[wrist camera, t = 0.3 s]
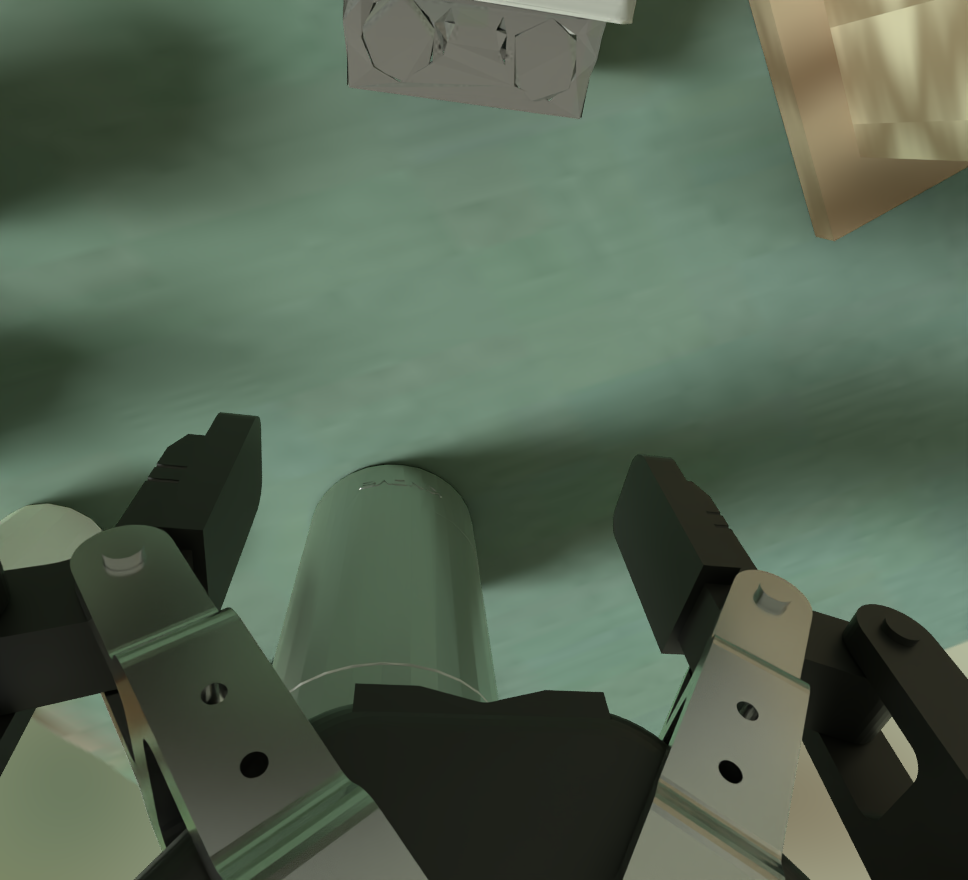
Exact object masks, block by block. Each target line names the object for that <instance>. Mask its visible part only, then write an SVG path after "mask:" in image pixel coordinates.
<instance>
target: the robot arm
mask: <svg viewBox="0 0 968 880" xmlns="http://www.w3.org/2000/svg"><path fill="white" fill-rule="evenodd" d="M261 488H262V455H261V422H260V418H259V417H258V416H251V415H241V414H232V413H222V412H220V413H219V414H218V415H217V416H216V418H215V420H214V421H213V423H212V425H211V427H210V428H209V430H208V432H207V434H206V435H205V436H204V435H194V434H188V435H186V436H184V437H183V438H181V439H180V440H178V441H177V442H175V443H174V444H172V445H170V446H169V447H167V449H166V451H165V452H164V454H163V455H162V457H161V458H160V460H159V461H158V463H157V467H154V469H153V470H152V472H151V473H150V475H149V476H148V480H147V481H145V482H144V484H143V485H142V487H141V488H140V490H139V492H138V493H137V495H136V496H135V498H134V499H133V501H132V502H131V504H130V505H129V507H128V508H127V510H126V511H125V513H124V514H123V516H122V517H121V519H120V520H119V522H118V523H117V525H116V526H115V528H111V529H108V530H105V531H102V532H100V533H97V534H95V535H93V536H92V537H90V538H88V539H87V540H85V541H84V542H83V543H82V544H80V546H79V547H78V548H77V549H76V550H75V552H74V553H73V555H72V557H71V559H68V560H64V561H61V562H57V563H51V564H46V565H39V566H32V567H25V568H18V569H11V570H3V566H2V564H1V561H0V776H1V774H2V772H3V771H4V769H5V767H6V765H7V763H8V761H9V759H10V757H11V755H12V753H13V751H14V749H15V747H16V745H17V744H18V742H19V740H20V738H21V736H22V734H23V732H24V730H25V728H26V726H27V724H28V722H29V721H30V719H31V717H32V715H33V713H34V711H35V709H36V708H37V707H41V706H46V705H50V704H54V703H59V702H63V701H67V700H72V699H76V698H81V697H85V696H89V695H94V694H98V693H101V696H102V698H103V700H104V703H105V705H106V708H107V710H108V712H109V715H110V717H111V720H112V722H113V724H114V727H115V729H116V732H117V734H118V736H119V739H120V741H121V744H122V746H123V748H124V751H125V753H126V756H127V758H128V760H129V763H130V765H131V768H132V770H133V772H134V775H135V777H136V780H137V783H138V785H139V788H140V791H141V794H142V798H143V801H144V804H145V807H146V810H147V814H148V816H149V819H150V822H151V825H152V828H153V830H154V833H155V836H156V838H157V840H158V843H159V845H160V848H161V850H162V853H161V854H160V855H159V856H158V857H157V858H155V859H154V860H153V862H151V863H150V864H149V865H148V866H147V867H146V868H145V869H144V870H143V871H142V872H141V873H140V874H139V875H138V876H137V877H136V878H135V879H134V880H810V879H809V878H808V877H807V876H806V875H805V874H804V873H803V872H802V871H801V870H800V869H798V868H797V867H796V866H795V865H794V864H793V863H792V862H791V861H790V860H789V859H788V858H787V857H786V856H785V855H784V854H783V853H782V850H783V845H784V839H785V833H786V827H787V822H788V816H789V810H790V804H791V798H792V792H793V787H794V781H795V776H796V770H797V764H798V758H799V753H800V747H801V741H803V743H804V745H805V747H806V749H807V751H808V753H809V755H810V757H811V759H812V761H813V763H814V765H815V767H816V769H817V771H818V773H819V775H820V777H821V779H822V781H823V783H824V785H825V787H826V789H827V791H828V793H829V795H830V797H831V799H832V801H833V803H834V805H835V807H836V809H837V812H838V813H839V816H840V818H841V820H842V822H843V824H844V825H845V828H846V830H847V831H848V833H849V836H850V838H851V840H852V842H853V843H854V846H855V848H856V850H857V852H858V854H859V856H860V858H861V860H862V862H863V864H864V866H865V868H866V870H867V872H868V874H869V876H870V878H871V880H968V679H967V678H966V677H965V675H964V674H963V673H962V671H961V670H960V669H959V668H958V667H957V665H956V664H955V663H954V662H953V661H952V659H951V658H950V657H949V656H948V654H947V653H946V652H945V651H944V649H943V648H942V647H941V646H940V645H939V643H938V642H937V641H936V640H935V638H934V637H933V636H932V635H931V634H930V633H929V632H928V631H927V630H926V629H925V628H924V627H923V626H921V625H920V624H919V623H917V622H916V621H915V620H913V619H912V618H910V617H908V616H907V615H905V614H903V613H901V612H899V611H897V610H894V609H892V608H889V607H886V606H882V605H876V604H868V605H864V606H861V607H860V608H859V609H858V610H857V612H856V613H855V615H854V616H853V618H852V619H851V621H850V622H848V621H845V620H842V619H839V618H835V617H832V616H829V615H825V614H822V613H819V612H816V611H812V607H811V605H810V603H809V601H808V600H807V598H806V597H805V596H804V595H803V594H802V593H801V592H800V591H799V590H798V589H797V588H796V587H795V586H793V585H792V584H791V583H789V582H788V581H786V580H784V579H782V578H781V577H779V576H776V575H774V574H771V573H768V572H765V571H760V570H757V568H756V567H755V565H754V564H753V562H752V560H751V559H750V557H749V556H748V554H747V553H746V551H745V550H744V548H743V547H742V545H741V544H740V542H739V541H738V539H737V537H736V536H735V534H734V533H733V531H732V530H731V529H729V528H728V526H729V525H728V524H727V522H726V521H725V519H724V518H723V516H721V515H720V511H719V510H718V508H717V507H716V505H715V504H714V502H713V501H712V499H711V498H710V496H709V495H707V494H706V493H705V492H704V491H703V490H701V489H700V488H699V487H698V486H697V485H695V484H694V483H693V482H691V481H687V480H686V479H685V477H684V476H683V474H682V472H681V471H680V469H679V467H678V466H677V464H676V463H675V461H674V460H673V459H672V458H669V457H660V456H650V455H637V456H635V458H634V459H633V461H632V463H631V465H630V468H629V471H628V474H627V477H626V479H625V482H624V485H623V488H622V491H621V494H620V496H619V499H618V502H617V505H616V508H615V511H614V517H613V531H614V536H615V539H616V541H617V544H618V546H619V549H620V551H621V554H622V556H623V559H624V561H625V564H626V566H627V569H628V571H629V574H630V576H631V579H632V581H633V584H634V586H635V589H636V591H637V594H638V596H639V599H640V601H641V604H642V606H643V609H644V611H645V614H646V616H647V619H648V621H649V624H650V626H651V629H652V631H653V634H654V636H655V639H656V641H657V644H658V646H659V649H660V651H661V653H662V654H683V655H685V657H686V659H687V662H688V664H689V667H688V669H687V671H686V673H685V675H684V678H683V680H682V682H681V685H680V687H679V690H678V692H677V694H676V697H675V699H674V701H673V704H672V706H671V709H670V711H669V713H668V716H667V718H666V720H665V723H664V725H663V728H662V730H661V732H660V735H659V737H657V736H655V735H654V734H652V733H651V732H649V731H648V730H646V729H644V728H643V727H641V726H639V725H637V724H635V723H633V722H631V721H629V720H627V719H624V718H622V717H619V716H616V715H614V714H610V713H609V710H608V707H607V703H606V700H605V696H604V693H603V692H581V691H553V690H544V691H540V692H535V693H530V694H526V695H521V696H516V697H512V698H507V699H502V700H498V694H497V687H496V680H495V674H494V667H493V660H492V654H491V647H490V640H489V633H488V627H487V620H486V613H485V607H484V600H483V593H482V587H481V580H480V573H479V565H478V558H477V552H476V545H475V538H474V532H473V525H472V521H471V517H470V514H469V510H468V508H467V506H466V504H465V503H464V501H463V499H462V497H461V496H460V495H459V494H458V493H457V492H456V491H455V489H454V488H453V487H452V486H451V485H450V484H448V483H447V482H445V481H444V480H442V479H441V478H439V477H438V476H437V475H434V474H432V473H429V472H427V471H425V470H422V469H419V468H415V467H410V466H405V465H380V466H374V467H368V468H365V469H362V470H360V471H357V472H354V473H352V474H350V475H348V476H346V477H345V478H343V479H341V480H340V481H338V482H337V483H335V484H334V485H333V486H332V487H331V488H330V489H329V490H328V491H327V492H326V493H325V494H324V496H323V497H322V499H321V500H320V502H319V503H318V505H317V507H316V509H315V512H314V515H313V518H312V521H311V525H310V528H309V532H308V536H307V540H306V543H305V547H304V551H303V554H302V557H301V561H300V564H299V568H298V572H297V575H296V579H295V583H294V587H293V590H292V594H291V598H290V602H289V605H288V609H287V613H286V616H285V620H284V624H283V628H282V631H281V635H280V639H279V643H278V646H277V650H276V654H275V657H274V661H273V665H271V663H270V662H269V660H268V659H267V657H266V656H265V654H264V653H263V651H262V650H261V648H260V647H259V645H258V644H257V642H256V641H255V639H254V638H253V636H252V635H251V633H250V632H249V630H248V629H247V627H246V626H245V624H244V623H243V621H242V620H241V618H240V617H239V616H238V614H237V613H236V612H235V611H234V610H233V609H232V608H225V609H223V610H221V607H222V605H223V602H224V599H225V596H226V594H227V591H228V588H229V586H230V583H231V580H232V577H233V575H234V572H235V569H236V567H237V564H238V561H239V558H240V556H241V553H242V550H243V548H244V545H245V542H246V539H247V537H248V534H249V531H250V528H251V526H252V523H253V520H254V518H255V515H256V512H257V509H258V506H259V502H260V496H261ZM891 717H893V719H894V720H895V722H896V723H897V725H898V726H899V728H900V729H901V731H902V732H903V734H904V735H905V737H906V739H907V740H908V742H909V743H910V745H911V746H912V748H913V750H914V752H915V754H916V757H917V761H918V775H917V778H916V780H915V782H914V783H913V781H912V779H911V778H910V776H909V775H908V773H907V771H906V770H905V768H904V767H903V765H902V763H901V762H900V760H899V758H898V757H897V755H896V754H895V752H894V750H893V749H892V747H891V746H890V744H889V743H888V741H887V739H886V738H885V736H884V735H883V733H882V731H881V729H882V728H883V727H884V725H885V724H886V723H887V722H888V721H889V719H890V718H891Z"/></svg>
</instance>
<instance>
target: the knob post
mask: <svg viewBox="0 0 968 880" xmlns="http://www.w3.org/2000/svg"><path fill="white" fill-rule="evenodd" d="M749 3H750V7H751V10H752V14H753V17H754V21H755V24H756V28H757V31H758V35H759V38H760V42H761V45H762V49H763V52H764V56H765V60H766V63H767V67H768V70H769V74H770V77H771V81H772V84H773V88H774V91H775V95H776V98H777V102H778V105H779V109H780V112H781V116H782V119H783V123H784V126H785V130H786V133H787V137H788V140H789V144H790V148H791V151H792V155H793V158H794V162H795V165H796V169H797V172H798V176H799V179H800V183H801V186H802V190H803V193H804V197H805V200H806V204H807V207H808V211H809V214H810V218H811V221H812V225H813V228H814V232H815V235H816V237H820V238H824V239H828V240H832V241H835V240H837V239H839V238H841V237H843V236H844V235H846V234H848V233H850V232H852V231H853V230H855V229H857V228H859V227H861V226H862V225H864V224H866V223H868V222H870V221H871V220H873V219H875V218H877V217H879V216H880V215H882V214H884V213H886V212H888V211H889V210H891V209H893V208H895V207H897V206H898V205H900V204H902V203H904V202H906V201H907V200H909V199H911V198H913V197H915V196H916V195H918V194H920V193H922V192H924V191H925V190H927V189H929V188H931V187H933V186H934V185H936V184H938V183H940V182H942V181H943V180H945V179H947V178H949V177H951V176H952V175H954V174H956V173H958V172H960V171H961V170H963V169H965V168H967V167H968V0H749Z"/></svg>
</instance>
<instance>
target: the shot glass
mask: <svg viewBox="0 0 968 880" xmlns="http://www.w3.org/2000/svg"><path fill="white" fill-rule="evenodd" d="M100 532H102V530H101V529H100V528H99V527H98V526H97V524H96V523H95V522H94V521H93V520H92V519H90V518H88V517H87V516H85V515H83V514H81V513H79V512H77V511H75V510H73V509H71V508H68V507H63V506H58V505H53V504H48V503H47V504H38V505H28V506H25V507H23V508H21V509H19V510H17V511H15V512H13V513H11V514H9V515H8V516H6V517H5V518H4V519H2V520H1V521H0V561H1V564H2V566H3V570H11V569H18V568H25V567H32V566H39V565H46V564H51V563H57V562H61V561H64V560H68V559H71V557H72V555H73V553H74V552H75V550H76V549H77V548H78V547H79V546H80V544H82V543H83V542H84V541H85V540H87V539H88V538H90V537H92V536H93V535H95V534H97V533H100Z"/></svg>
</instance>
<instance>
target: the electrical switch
mask: <svg viewBox="0 0 968 880" xmlns="http://www.w3.org/2000/svg"><path fill="white" fill-rule="evenodd" d="M635 5H636V0H344V6H343V26H344V34H345V43H346V51H347V85H348V83H349V87H350V88H357V89H365V90H372V91H379V92H387V93H394V94H401V95H409V96H416V97H423V98H430V99H438V100H445V101H452V102H460V103H467V104H474V105H481V106H489V107H496V108H503V109H511V110H518V111H525V112H532V113H540V114H547V115H554V116H562V117H569V118H576V119H580V117H582V112H583V107H584V102H585V97H586V92H587V88H588V83H589V78H590V75H591V73H592V71H593V68H594V66H595V64H596V61H597V58H598V53H599V49H600V44H601V39H602V36H603V32H604V29H605V26H606V22H611V23H617V24H632V21H633V15H634V10H635ZM366 48H367V50H366ZM367 51H368V53H369V55H368V53H367ZM443 51H444V54H443ZM432 52H433V61H432V62H430V59H431V56H432ZM369 56H370V58H371V60H370V58H369ZM503 59H504V60H505V64H504V62H503ZM371 61H372V62H371ZM391 76H392V77H391ZM393 77H394V78H397V79H399V80H401V82H399V81H397V80H396V79H394V78H393ZM518 87H519V88H520V89H519V88H518ZM551 98H552V99H551ZM549 99H551V100H550V101H548V100H549Z"/></svg>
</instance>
